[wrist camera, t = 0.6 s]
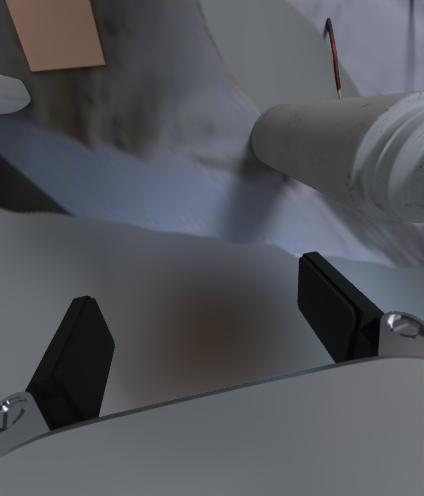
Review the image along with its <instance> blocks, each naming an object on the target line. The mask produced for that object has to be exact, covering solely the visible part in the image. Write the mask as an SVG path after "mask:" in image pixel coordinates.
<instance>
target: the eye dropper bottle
mask: <svg viewBox="0 0 424 496" xmlns="http://www.w3.org/2000/svg"><path fill="white" fill-rule="evenodd" d="M30 101H31V99H30V95H29V93H28V91H27V89H26V87H25V85H24V83H23V82H22V81H21V80H19V79H15V78H11V77H7V76H3V75H0V114H8V113H13V112H16V111H19V110H21V109H23V108H24V107H25V106H27V105H28V104H29V103H30Z"/></svg>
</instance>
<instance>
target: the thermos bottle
mask: <svg viewBox="0 0 424 496" xmlns="http://www.w3.org/2000/svg"><path fill="white" fill-rule="evenodd" d="M252 147H253V150H254V153H255V155H256V156H257V158H258V159H259V160H260V161H261V162H263V163H264V164H266V165H268V166H270V167H272V168H274V169H276V170H278V171H280V172H282V173H284V174H287V175H289V176H291V177H293V178H294V179H296V180H298V181H300V182H302V183H304V184H306V185H308V186H310V187H312V188H313V189H315V190H317V191H319V192H321V193H323V194H325V195H327V196H329V197H331V198H333V199H335V200H337V201H339V202H341V203H343V204H345V205H347V206H349V207H351V208H353V209H355V210H357V211H359V212H361V213H363V214H365V215H367V216H369V217H372V218H375V219H378V220H398V221H402V222H413V223H422V222H424V91H419V92H409V93H399V94H389V95H379V96H368V97H358V98H357V97H356V98H346V99H336V100H325V101H315V102H304V103H294V104H283V105H276V106H273V107H271V108H269V109H267V110H266V111H265V112H264V113H262V115H261V116H260V117H259V118H258V120H257V122H256V123H255V125H254V128H253V132H252Z"/></svg>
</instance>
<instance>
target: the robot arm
mask: <svg viewBox="0 0 424 496" xmlns="http://www.w3.org/2000/svg"><path fill="white" fill-rule="evenodd" d="M297 302H298V307H299V309H300V311H301V313H302V314H303V316H304V317H305V319H306V320H307V321H308V323H309V324H310V326H311V327H312V329H313V330H314V332H315V333H316V335H317V336H318V338H319V339H320V341H321V342H322V344H323V345H324V346H325V348H326V350H327V351H328V353H329V354H330V356H331V357H332V359H333V360H334V362H335V364H330V365H325V366H320V367H316V368H311V369H307V370H302V371H297V372H293V373H288V374H284V375H280V376H275V377H270V378H266V379H262V380H257V381H253V382H248V383H244V384H239V385H235V386H231V387H226V388H222V389H217V390H213V391H209V392H205V393H200V394H196V395H192V396H187V397H182V398H178V399H174V400H170V401H165V402H161V403H157V404H152V405H148V406H144V407H140V408H135V409H131V410H127V411H123V412H118V413H115V414H110V415H106V416H102V417H99V413H100V408H101V404H102V400H103V395H104V391H105V387H106V383H107V379H108V374H109V370H110V366H111V361H112V357H113V353H114V348H115V346H114V345H115V344H114V340H113V338H112V336H111V333H110V331H109V329H108V327H107V324H106V322H105V320H104V317H103V315H102V313H101V311H100V309H99V306H98V304H97V302H96V300H95V299H94V298H91V297H90V296H83V297H78V298H74V299H73V301H72V303H71V305H70V307H69V308H68V310H67V312H66V314H65V316H64V318H63V320H62V322H61V324H60V326H59V328H58V330H57V331H56V333H55V335H54V337H53V339H52V341H51V343H50V345H49V347H48V348H47V350H46V352H45V354H44V356H43V358H42V360H41V362H40V364H39V366H38V367H37V369H36V371H35V373H34V375H33V377H32V379H31V381H30V383H29V385H28V387H27V389H26V390H25V392H18V393H15V394H12V395H10V396H8V397H6V398H4V399H3V400H1V401H0V496H424V321H423V320H421V319H420V318H418V317H416V316H414V315H411V314H408V313H405V312H397V311H395V312H388V313H385V314H384V313H383V312H382V311H381V310H380V309H379V308H378V307H377V306H376V305H375V304H374V303H372V302H371V301H370V300H369V299H368V298H367V297H366V296H365V295H364V294H363V293H362V292H360V291H359V290H358V289H357V288H356V287H355V286H354V285H353V284H352V283H351V282H349V281H348V280H347V279H346V278H345V277H344V276H343V275H342V274H341V273H340V272H339V271H337V270H336V269H335V268H334V267H333V266H332V265H331V264H330V263H329V262H328V261H327V260H326V259H324V258H323V257H322V256H321V255H320V254H319V253H318V252H310V253H305V254H303V256H302V257H300V259H299V275H298V301H297Z"/></svg>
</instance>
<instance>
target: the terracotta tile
mask: <svg viewBox="0 0 424 496" xmlns="http://www.w3.org/2000/svg"><path fill="white" fill-rule="evenodd" d="M6 3H7V6H8V8H9V11H10V14H11V17H12V20H13V22H14V25H15V28H16V31H17V33H18V36H19V39H20V42H21V44H22V47H23V50H24V53H25V55H26V58H27V61H28V64H29V67H30V69H31V71H32V72H39V71H50V70H60V69H71V68H81V67H92V66H103V65H106V63H105V59H104V55H103V51H102V47H101V43H100V39H99V35H98V30H97V26H96V22H95V18H94V14H93V10H92V6H91V2H90V0H6Z"/></svg>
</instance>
